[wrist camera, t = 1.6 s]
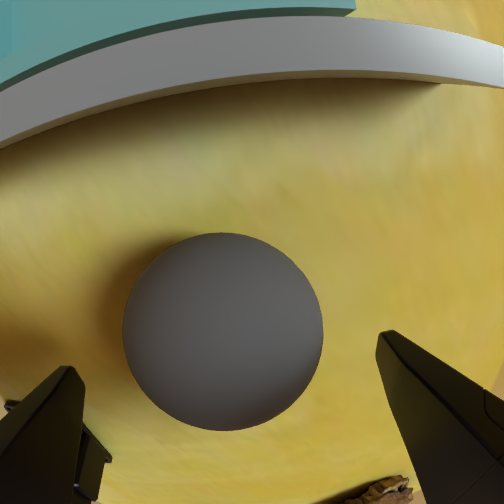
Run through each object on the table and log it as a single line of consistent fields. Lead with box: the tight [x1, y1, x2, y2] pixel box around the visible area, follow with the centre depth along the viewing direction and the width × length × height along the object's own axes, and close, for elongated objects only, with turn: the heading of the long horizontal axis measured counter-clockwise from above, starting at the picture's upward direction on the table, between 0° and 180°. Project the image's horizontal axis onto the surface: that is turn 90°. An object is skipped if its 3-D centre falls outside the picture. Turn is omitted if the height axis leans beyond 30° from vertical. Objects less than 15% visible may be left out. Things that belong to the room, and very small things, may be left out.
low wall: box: [0, 16, 504, 149], centre depth 7 cm, size 18×1×4 cm, turn 97°
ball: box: [122, 233, 323, 431], centre depth 10 cm, size 6×6×6 cm
